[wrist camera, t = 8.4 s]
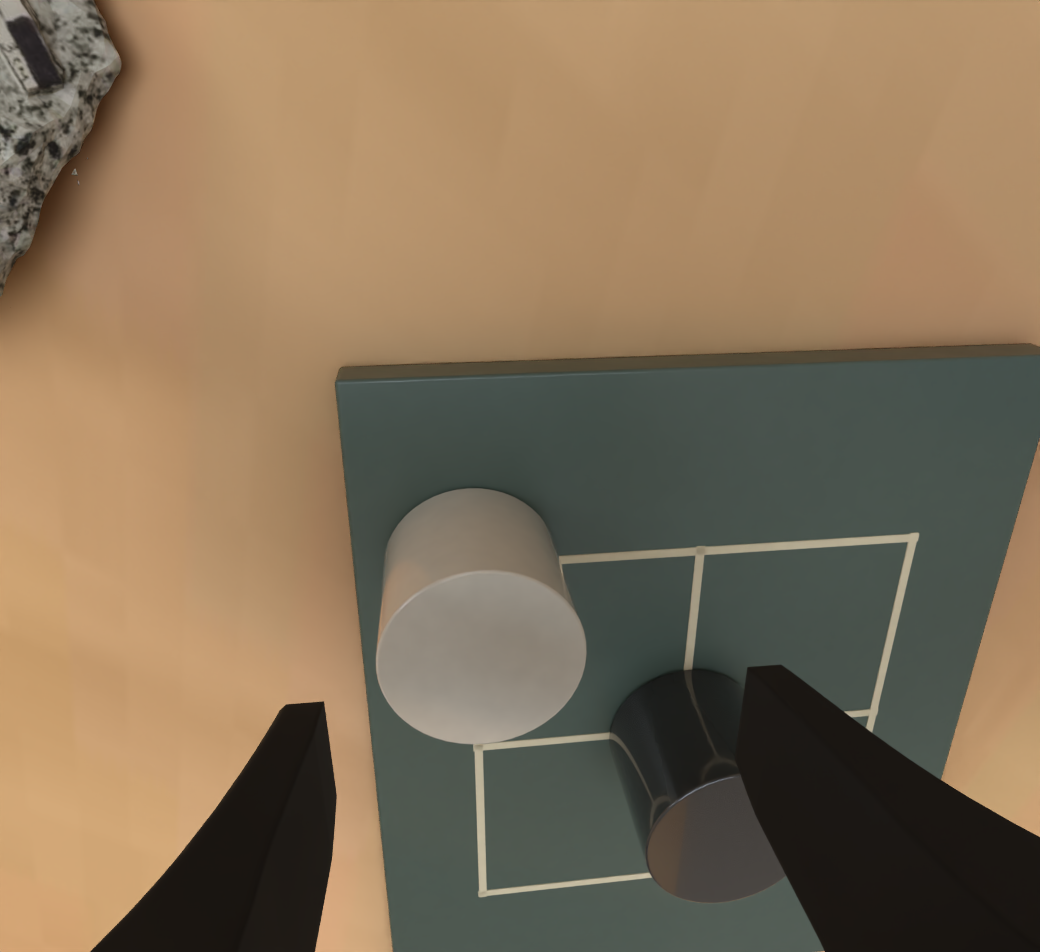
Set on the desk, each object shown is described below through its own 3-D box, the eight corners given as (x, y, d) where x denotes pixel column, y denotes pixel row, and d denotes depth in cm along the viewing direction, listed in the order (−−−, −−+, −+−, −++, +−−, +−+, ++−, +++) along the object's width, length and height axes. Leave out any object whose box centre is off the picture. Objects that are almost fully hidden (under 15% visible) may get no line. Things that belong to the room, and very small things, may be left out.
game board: (1031, 342, 20) (1067, 354, 19) (877, 913, 29) (896, 944, 28) (338, 366, 18) (333, 381, 17) (398, 970, 27) (397, 1006, 26)
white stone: (557, 482, 19) (591, 563, 15) (554, 631, 21) (583, 736, 17) (377, 491, 18) (366, 578, 15) (389, 643, 20) (383, 754, 17)
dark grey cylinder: (762, 662, 22) (830, 766, 18) (744, 778, 24) (803, 894, 20) (612, 675, 22) (651, 783, 18) (605, 792, 23) (639, 913, 20)
